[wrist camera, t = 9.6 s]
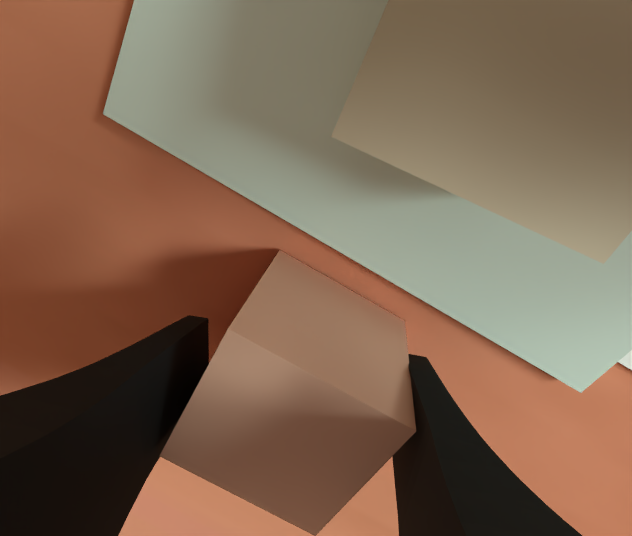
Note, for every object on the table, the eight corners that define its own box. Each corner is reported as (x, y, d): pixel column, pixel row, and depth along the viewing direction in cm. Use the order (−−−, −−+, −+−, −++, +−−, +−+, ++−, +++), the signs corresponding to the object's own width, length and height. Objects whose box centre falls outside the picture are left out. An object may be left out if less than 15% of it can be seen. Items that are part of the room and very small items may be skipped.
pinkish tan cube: (279, 249, 12) (227, 328, 8) (405, 321, 12) (416, 431, 8) (224, 350, 14) (159, 455, 10) (334, 410, 14) (315, 535, 10)
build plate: (291, -493, 7) (284, -544, 6) (983, 21, 8) (1027, 16, 7) (116, 113, 11) (102, 114, 11) (572, 379, 12) (580, 392, 12)
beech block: (446, -98, 8) (515, -302, 4) (643, -1, 8) (910, -101, 4) (351, 119, 10) (331, 136, 6) (512, 195, 10) (603, 263, 6)
